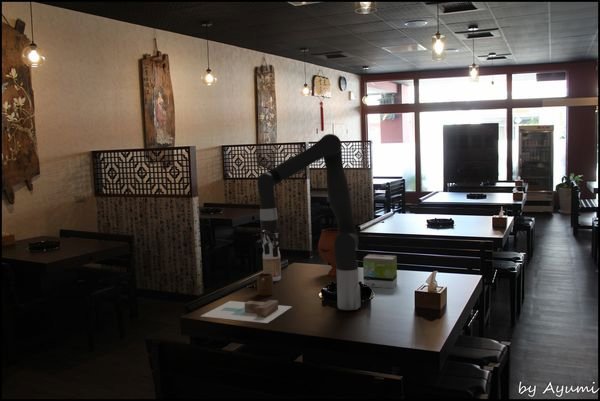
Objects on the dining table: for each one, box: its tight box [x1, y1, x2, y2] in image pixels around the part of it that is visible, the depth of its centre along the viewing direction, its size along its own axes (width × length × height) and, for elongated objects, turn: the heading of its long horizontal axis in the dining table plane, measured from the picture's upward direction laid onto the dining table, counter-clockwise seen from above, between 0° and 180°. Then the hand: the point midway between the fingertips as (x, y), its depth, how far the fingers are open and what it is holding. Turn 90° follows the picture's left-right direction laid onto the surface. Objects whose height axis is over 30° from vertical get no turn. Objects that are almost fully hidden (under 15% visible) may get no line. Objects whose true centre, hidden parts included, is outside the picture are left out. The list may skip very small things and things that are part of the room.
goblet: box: [317, 227, 338, 277], centre depth 297 cm, size 19×19×25 cm
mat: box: [200, 300, 293, 324], centre depth 233 cm, size 32×24×1 cm
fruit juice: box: [262, 242, 282, 282], centre depth 289 cm, size 9×9×28 cm
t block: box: [245, 299, 279, 318], centre depth 231 cm, size 12×12×4 cm
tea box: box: [362, 254, 398, 289], centre depth 269 cm, size 15×10×15 cm
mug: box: [256, 273, 274, 297], centre depth 259 cm, size 12×8×9 cm, turn 175°
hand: (271, 255), depth 235 cm, fingers open, 8 cm apart
